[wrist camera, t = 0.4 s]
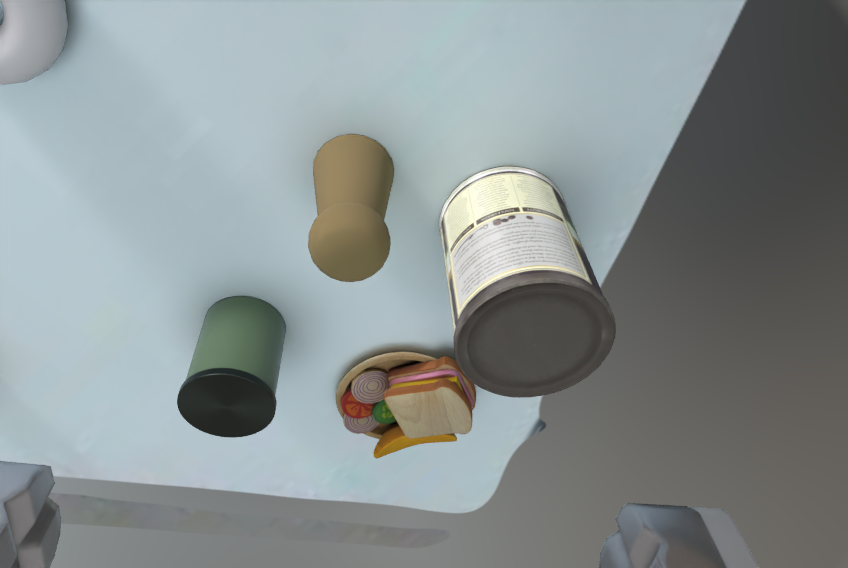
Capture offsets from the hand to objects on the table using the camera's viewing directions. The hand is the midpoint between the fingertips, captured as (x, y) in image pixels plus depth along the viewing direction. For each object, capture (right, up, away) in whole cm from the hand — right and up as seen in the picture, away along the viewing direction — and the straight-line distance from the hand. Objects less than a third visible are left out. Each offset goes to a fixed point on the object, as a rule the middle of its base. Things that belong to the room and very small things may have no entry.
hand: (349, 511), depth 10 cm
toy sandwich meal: (-1, -7, +55) cm, 55 cm away
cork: (-4, +12, +40) cm, 42 cm away
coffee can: (+7, +8, +43) cm, 45 cm away
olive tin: (-15, 0, +49) cm, 51 cm away
